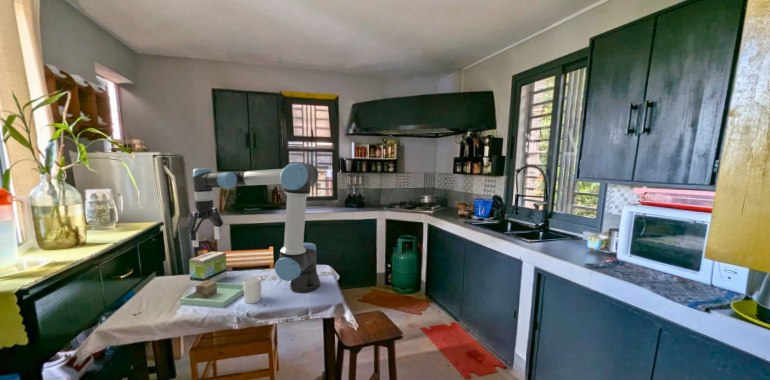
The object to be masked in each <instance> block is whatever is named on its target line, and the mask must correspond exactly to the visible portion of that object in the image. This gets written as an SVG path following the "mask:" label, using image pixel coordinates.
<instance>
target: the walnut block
mask: <svg viewBox="0 0 770 380" xmlns="http://www.w3.org/2000/svg"><path fill="white" fill-rule="evenodd" d="M216 282H217V281H204V282H202V283H200V284H198V285H196V286H195V291H196V298H205V299H208V298H210V297H211V296H213V295H215V294H216V293H217V284H216Z"/></svg>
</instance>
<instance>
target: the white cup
mask: <svg viewBox="0 0 770 380" xmlns="http://www.w3.org/2000/svg"><path fill="white" fill-rule="evenodd" d="M242 284H243V290H244V294H243V295H244V302H245V304H255V303H258V302H259V301H261V299H262V277H260V276H251V277H250V276H249V277H247V278H245V279H244V280H242Z"/></svg>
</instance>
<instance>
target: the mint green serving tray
mask: <svg viewBox="0 0 770 380" xmlns="http://www.w3.org/2000/svg"><path fill="white" fill-rule="evenodd" d="M216 284H217V293H216V294H215V295H213V296H211V297H210V298H208V299H205V298H196V290H193V291H192V292H190V293H188V294H186V295H185V296H183V297H180V298H179V300H180V304H181V305H188V306H199V307H200V306H201V307H212V308H225V307H226V306H228V305H229V304H230V303H232V302H233V301H235V300H237V299H238V298H240V297H241V296H242V295H244V290H243V283H231V282H230V283H229V282H218V281H216Z"/></svg>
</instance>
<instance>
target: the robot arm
mask: <svg viewBox="0 0 770 380" xmlns="http://www.w3.org/2000/svg"><path fill="white" fill-rule="evenodd" d="M318 179H319V171H318V169H317V168H316V166H314V165H313V164H311V163H309V162H293V163H289V164H287V165H286V166H284V167H283V168H274V169H258V170H244V171H243V170H241V171H221V172H220V171H217V172H216V171H215V172H214V171H213V172H212V169H211V168H208V167H207V168H205V167H203V168H194V169H193V170H192V181H193V189H194V190H193V191H194V200H195V201H194V206H195V209H196V211H191V213H190V218H189V221H188V225H187V227H186V228H187V229H186V231H185V232H186V234H190V240H191V243H192V247H193V248H199V247H200V243H199V242H200V241H199V232H198V230H199V228H200V227H201V224H202V223H203V222H204V221H205V220H210V222H211V223H212V224H213V225H214V226H213V232H214V233H213V234H214V240H221V227H222V226H223V224H224V222H223V220H222V217H221V215H220V213H219V210H218V207H215V206H214V205H215V204H214V200H213V199H214V193H213V191H214V190H213V189H217V188H218V189H231V188H233V187H244V186H246V187H247V186H258V185H259V186H261V185H262V186H264V185H282V186H283V193H284V194H286V210H285V223H284V240H283V246H282V247H281V248H280V250H279V258H278V259H277V260H276V262H275V264H274V271H275V274H276V276H278V277H279V279H281V280H282V281H286V282H290V284H289V287H290V291H291V292H294V293H310V292H312V291H313V292H314V291H315V290H318V289H319V288H320V287H321V279H320V276H319V274H318V271H317V246H316V244H315V243H312V242H304V240H305V239H304V236H305V224H306V212H307V211H306V210H307V209H306V208H307V197H308V196H309V195H310V194H311V191H312V190H311V188H312V186H314V185H315V184H316V183H317V181H318Z"/></svg>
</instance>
